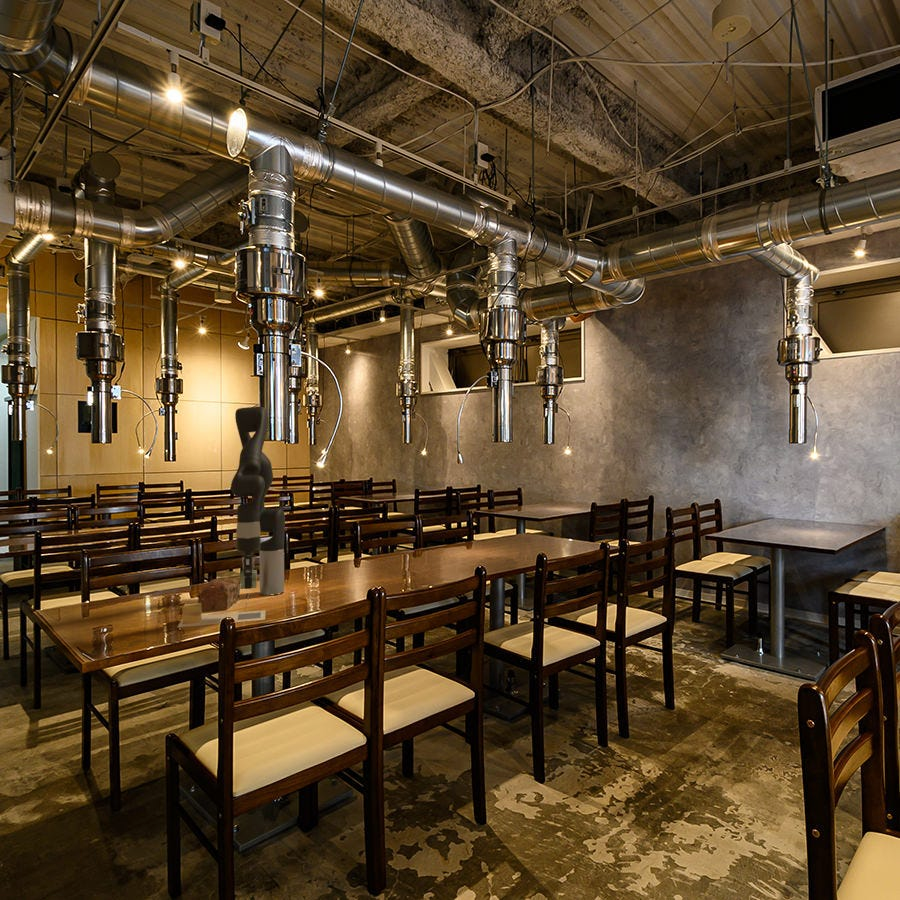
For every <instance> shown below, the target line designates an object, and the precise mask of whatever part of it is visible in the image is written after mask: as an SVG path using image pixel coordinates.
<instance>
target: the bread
mask: <svg viewBox="0 0 900 900" xmlns="http://www.w3.org/2000/svg"><path fill="white" fill-rule="evenodd" d="M240 593H241V589H240V580H239V579H238V578H235V577H219V578H214V579H211V580H210V581H208V582H207V583H206V584H203V586H202V587H201V588H200V590H199V591H198V596H197V603H201V612H216V611H217V612H218V611H219V612H222V611H228V610H229V609H230V608H231V607H233V605H235V604H236V603H237V602H238V601H239V599H240Z"/></svg>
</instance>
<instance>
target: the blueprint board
mask: <svg viewBox="0 0 900 900" xmlns="http://www.w3.org/2000/svg"><path fill="white" fill-rule="evenodd" d="M225 617H231V618H233V619H234V620H235V621H236V622H235V623H241V622H243V623H244V622H251V621H252V622H253V621H254V622H255V621H264V620H266V610H255V611H254V610H253V611H241V612H229V613H220V614H217V613H216V614H208V615H207V614H206V615H201V620H200V622H199V623H188V624H182V619H181V620H180V622H179V623H178V625H177V628H187V627H197V626H199V627H200V626H208V625H209V626H210V625H220V620H221V619H222V618H225Z"/></svg>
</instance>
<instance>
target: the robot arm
mask: <svg viewBox="0 0 900 900" xmlns="http://www.w3.org/2000/svg"><path fill="white" fill-rule="evenodd" d="M234 414H235V416H234V417H235V423H236V424H235V425H236V428H237V432H238V435H239V440H240V443H241V448H242V449H241V451H240V453H239V460H238V461H239V462H238V468H237V470H236V472H235V474H234V476H233V478H232V481H231V484H230V491H231V493H232V494H233V496H235V497H240V498H241V497H251V501H249V502H246V503H242V504H239V505H237V509H236V519H237V520H236V551H239V552H243V553H244V554H243V555H242V557H241V561H242V571H244V577H245V589H244V590H251V589H253V588H252V576H253V574H252V570H255V561H256V555H255V554H254V552H253V551H258V550H259V595H261V594H263V595H262V596H272V595H271V594H278V593H282V592H284V593H285V534H286V533H285V527H286V515H285V511H284V510H283V509H282V508H266V506H265V498H266V495H267V494H268V491H269V490H270V487H271V485H272V484H273V481H274V473H273V467H272V462H271V460H270V459H269V457H268V456H267V455H266V454H265V453H264V452H263V448H264V444H265V441H266V437H267V432H268V429H269V414H268V411H267V409H266V407H264V406H249V407H240V408H237V409H236V410H235V413H234ZM250 433H254V434H252V435H253V436H252V437H251V434H250ZM261 533H273V534H272V537H270V538H269V539H266V540H263V541H261ZM246 571H250V572H248V573H246ZM282 594H283V593H282ZM278 595H279V594H278Z"/></svg>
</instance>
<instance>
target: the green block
mask: <svg viewBox="0 0 900 900" xmlns="http://www.w3.org/2000/svg"><path fill="white" fill-rule="evenodd" d="M248 572H250V571H246V573H248ZM252 574H253V576H252V588H251V589H257V587H258V570H257V569H253V570H252ZM239 579H240V580H239V581H240V590H246V589H245V577H244V570H241V571H240V573H239Z"/></svg>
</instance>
